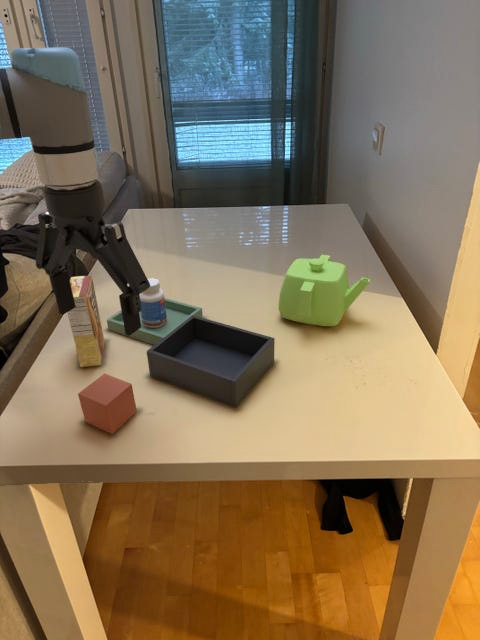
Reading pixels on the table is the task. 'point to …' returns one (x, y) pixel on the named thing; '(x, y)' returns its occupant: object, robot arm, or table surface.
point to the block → (107, 403)
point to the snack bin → (212, 359)
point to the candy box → (86, 322)
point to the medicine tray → (175, 317)
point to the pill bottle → (153, 305)
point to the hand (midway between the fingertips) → (99, 320)
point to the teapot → (317, 291)
